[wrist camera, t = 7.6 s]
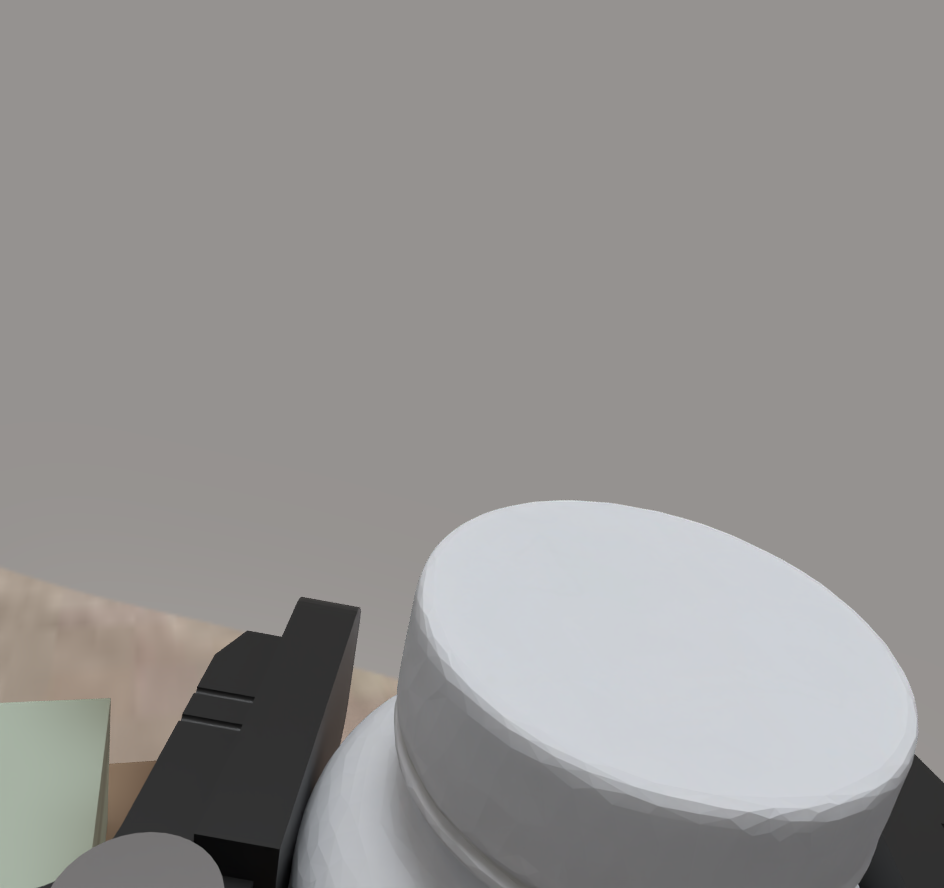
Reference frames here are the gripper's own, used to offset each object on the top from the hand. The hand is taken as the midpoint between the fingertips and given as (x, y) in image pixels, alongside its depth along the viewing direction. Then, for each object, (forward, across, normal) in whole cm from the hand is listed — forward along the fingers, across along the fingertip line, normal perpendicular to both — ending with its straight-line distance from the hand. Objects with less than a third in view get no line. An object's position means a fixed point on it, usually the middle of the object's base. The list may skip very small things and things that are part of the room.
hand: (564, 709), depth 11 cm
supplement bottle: (-3, 0, +7) cm, 7 cm away
